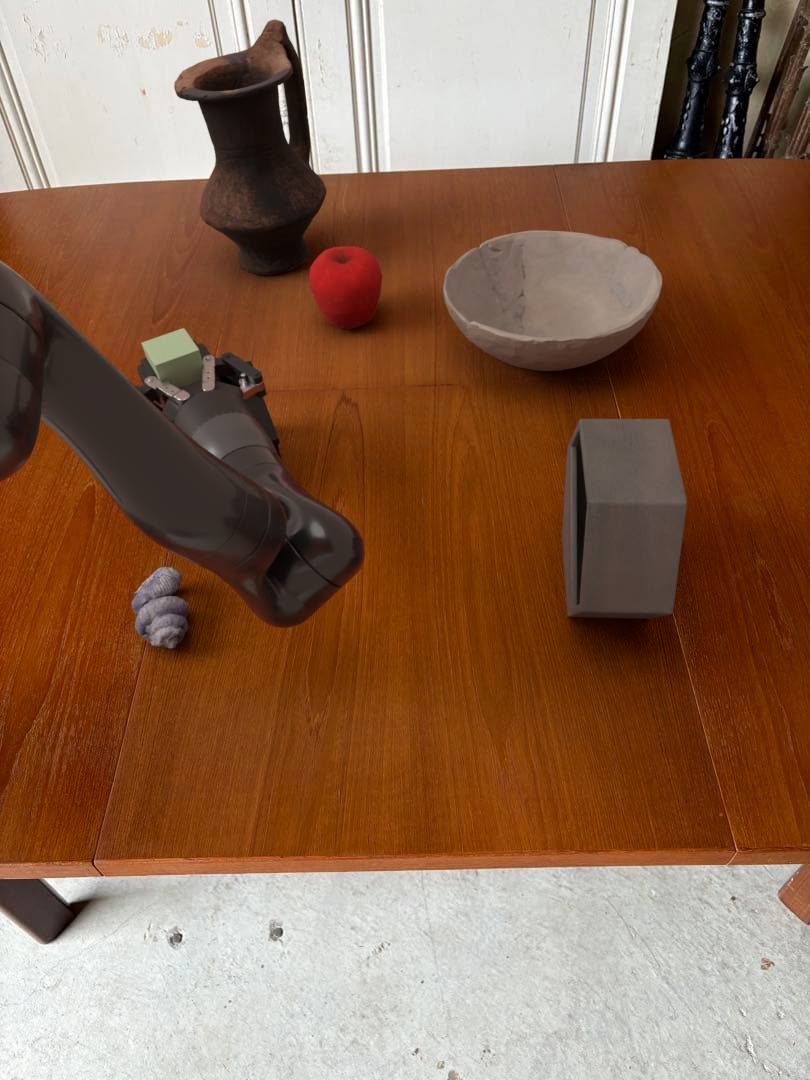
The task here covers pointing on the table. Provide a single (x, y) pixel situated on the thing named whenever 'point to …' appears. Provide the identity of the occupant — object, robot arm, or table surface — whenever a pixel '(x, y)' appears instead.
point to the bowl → (551, 297)
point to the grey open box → (622, 519)
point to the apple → (346, 285)
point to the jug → (257, 151)
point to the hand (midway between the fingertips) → (169, 357)
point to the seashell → (161, 609)
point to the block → (174, 358)
